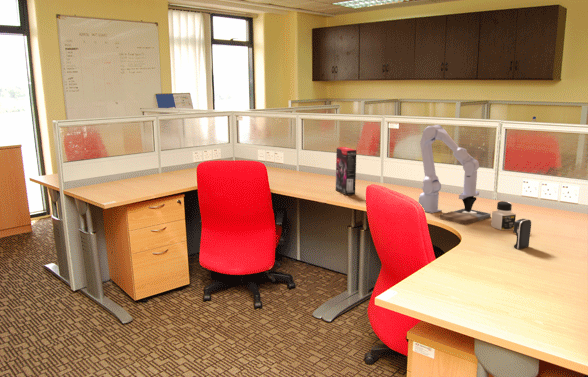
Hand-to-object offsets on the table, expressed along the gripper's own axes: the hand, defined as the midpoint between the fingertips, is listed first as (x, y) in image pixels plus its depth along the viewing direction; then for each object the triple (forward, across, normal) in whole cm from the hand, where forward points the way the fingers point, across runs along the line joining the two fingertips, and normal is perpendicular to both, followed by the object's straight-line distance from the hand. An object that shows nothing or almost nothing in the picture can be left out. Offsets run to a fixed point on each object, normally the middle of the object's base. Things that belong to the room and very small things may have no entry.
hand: (467, 211), depth 229 cm
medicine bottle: (+3, -4, -20) cm, 21 cm away
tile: (+2, +1, 0) cm, 3 cm away
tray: (+3, +3, 0) cm, 4 cm away
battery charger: (+3, -24, -38) cm, 45 cm away
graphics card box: (+3, -7, +79) cm, 79 cm away
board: (+3, -8, 0) cm, 8 cm away
